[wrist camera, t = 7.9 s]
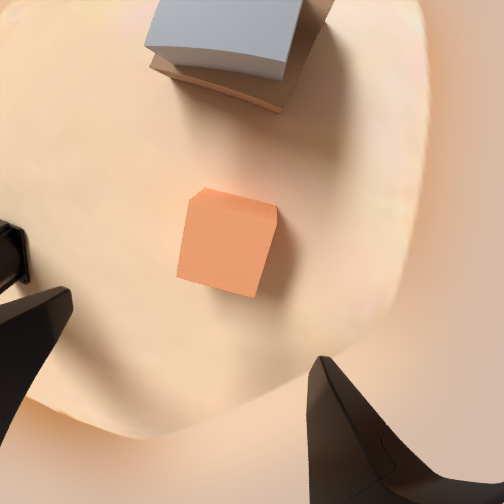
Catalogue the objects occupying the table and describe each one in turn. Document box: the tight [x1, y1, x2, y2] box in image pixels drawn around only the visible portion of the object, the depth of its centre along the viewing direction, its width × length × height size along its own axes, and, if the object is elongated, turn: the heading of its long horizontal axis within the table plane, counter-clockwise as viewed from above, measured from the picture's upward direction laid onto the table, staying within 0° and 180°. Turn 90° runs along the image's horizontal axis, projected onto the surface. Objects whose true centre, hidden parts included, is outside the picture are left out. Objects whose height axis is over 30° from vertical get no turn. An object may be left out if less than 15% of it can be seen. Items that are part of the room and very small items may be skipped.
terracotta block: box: [176, 188, 277, 298], centre depth 18 cm, size 5×5×4 cm
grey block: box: [144, 0, 303, 81], centre depth 9 cm, size 6×6×4 cm
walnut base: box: [149, 0, 335, 115], centre depth 13 cm, size 8×8×4 cm
